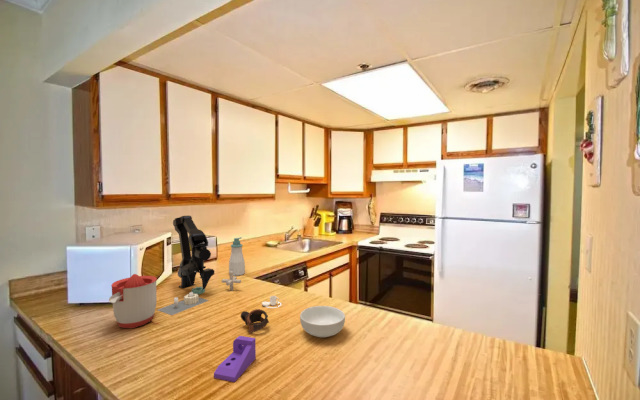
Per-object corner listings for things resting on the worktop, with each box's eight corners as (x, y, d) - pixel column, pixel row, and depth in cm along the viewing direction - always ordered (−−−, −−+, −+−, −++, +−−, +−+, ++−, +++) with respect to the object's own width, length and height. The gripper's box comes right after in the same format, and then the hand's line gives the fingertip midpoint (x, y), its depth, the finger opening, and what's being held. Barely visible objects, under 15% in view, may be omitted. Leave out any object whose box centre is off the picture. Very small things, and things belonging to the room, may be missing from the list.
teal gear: (189, 295, 150) (189, 289, 149) (199, 291, 155) (199, 286, 155) (197, 297, 146) (196, 291, 146) (207, 293, 152) (207, 288, 152)
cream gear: (180, 303, 136) (180, 296, 136) (192, 298, 142) (192, 292, 142) (189, 305, 133) (189, 299, 133) (201, 301, 139) (201, 294, 139)
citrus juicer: (98, 329, 113) (96, 278, 113) (139, 311, 130) (138, 267, 129) (127, 336, 108) (125, 283, 107) (166, 317, 124) (165, 270, 124)
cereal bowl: (312, 349, 100) (312, 328, 99) (293, 328, 114) (293, 310, 114) (353, 337, 107) (353, 318, 107) (331, 319, 122) (331, 302, 122)
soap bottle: (248, 273, 188) (247, 237, 187) (236, 277, 180) (235, 240, 179) (237, 270, 193) (237, 236, 193) (225, 274, 185) (225, 238, 184)
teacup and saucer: (259, 307, 135) (259, 299, 135) (267, 301, 142) (267, 293, 142) (277, 310, 132) (277, 301, 132) (284, 303, 140) (284, 294, 140)
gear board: (156, 312, 129) (156, 299, 129) (194, 298, 145) (194, 287, 145) (171, 318, 123) (171, 304, 123) (209, 302, 140) (209, 291, 139)
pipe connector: (243, 287, 161) (243, 269, 161) (237, 293, 151) (236, 274, 151) (226, 286, 162) (226, 269, 162) (218, 293, 152) (218, 274, 152)
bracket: (236, 355, 96) (236, 335, 96) (255, 359, 94) (255, 338, 94) (213, 378, 85) (213, 355, 84) (234, 382, 83) (234, 359, 82)
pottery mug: (272, 323, 119) (273, 310, 115) (261, 344, 112) (262, 331, 107) (245, 313, 122) (245, 300, 117) (233, 333, 114) (232, 320, 109)
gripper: (171, 258, 148) (172, 288, 148) (195, 263, 138) (196, 295, 139) (191, 253, 157) (191, 282, 158) (214, 258, 148) (215, 288, 149)
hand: (198, 287), depth 151 cm, fingers open, 9 cm apart
